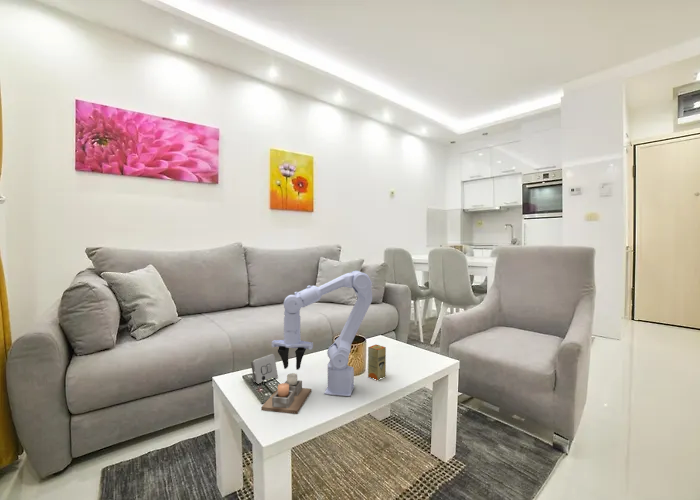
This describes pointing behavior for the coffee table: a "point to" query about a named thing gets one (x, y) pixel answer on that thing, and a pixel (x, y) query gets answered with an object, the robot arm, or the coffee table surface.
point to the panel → (288, 400)
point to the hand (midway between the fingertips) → (292, 368)
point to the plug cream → (292, 379)
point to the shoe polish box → (376, 362)
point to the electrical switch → (264, 368)
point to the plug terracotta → (283, 390)
